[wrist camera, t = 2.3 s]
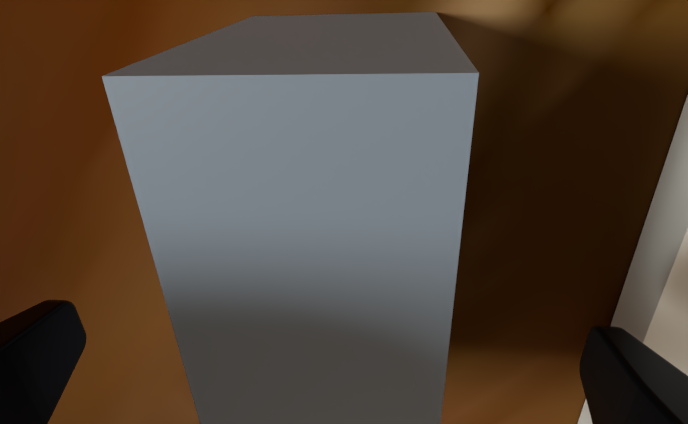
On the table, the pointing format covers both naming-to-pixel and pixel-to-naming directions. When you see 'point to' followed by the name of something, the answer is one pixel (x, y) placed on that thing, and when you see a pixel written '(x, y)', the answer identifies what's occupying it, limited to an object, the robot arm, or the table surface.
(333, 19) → the block
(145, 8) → the table surface
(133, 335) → the table surface
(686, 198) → the base
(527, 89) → the table surface
